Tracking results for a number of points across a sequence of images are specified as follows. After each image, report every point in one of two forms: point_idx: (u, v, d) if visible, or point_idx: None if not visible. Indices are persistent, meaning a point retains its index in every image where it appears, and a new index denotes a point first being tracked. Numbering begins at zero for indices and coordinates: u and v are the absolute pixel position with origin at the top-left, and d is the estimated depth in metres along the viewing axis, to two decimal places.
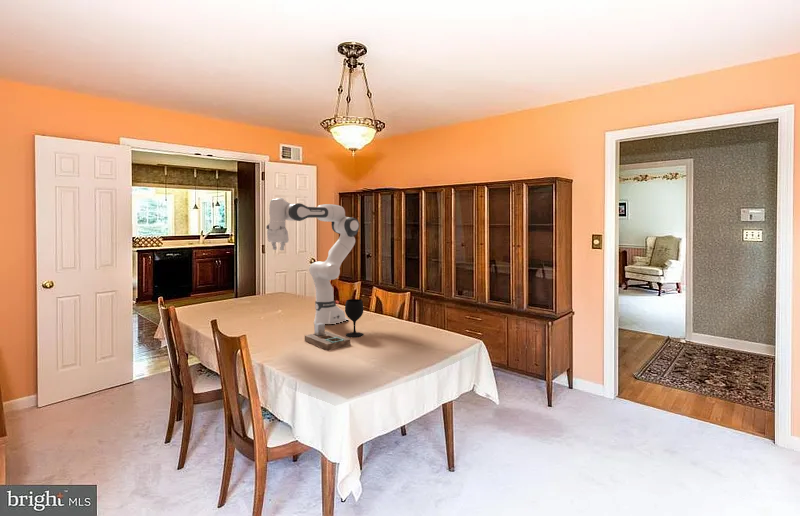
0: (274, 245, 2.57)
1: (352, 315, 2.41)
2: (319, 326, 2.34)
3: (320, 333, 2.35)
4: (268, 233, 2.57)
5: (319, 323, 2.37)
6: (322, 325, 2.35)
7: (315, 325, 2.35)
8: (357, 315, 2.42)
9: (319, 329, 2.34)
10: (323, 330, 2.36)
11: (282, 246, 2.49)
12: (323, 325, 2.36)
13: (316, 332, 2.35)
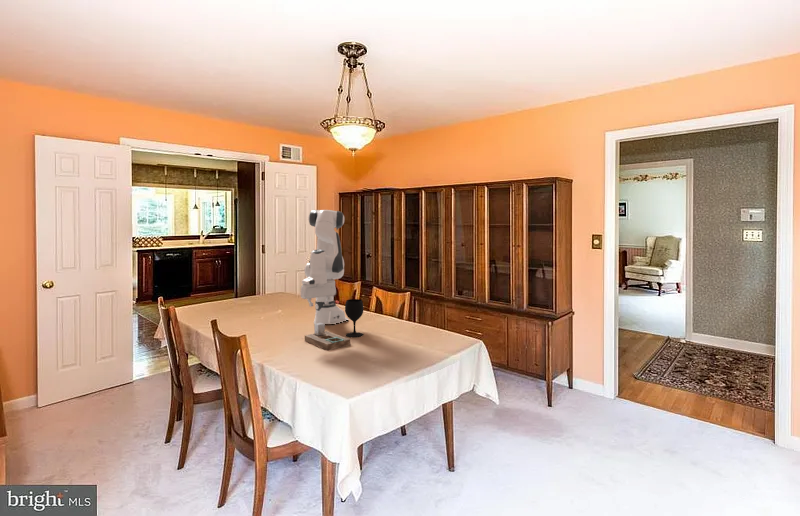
0: None
1: (352, 315, 2.41)
2: (319, 326, 2.34)
3: (320, 333, 2.35)
4: (307, 289, 2.28)
5: (319, 323, 2.37)
6: (322, 325, 2.35)
7: (315, 325, 2.36)
8: (357, 315, 2.42)
9: (319, 329, 2.34)
10: (323, 330, 2.36)
11: None
12: (323, 325, 2.36)
13: (316, 332, 2.35)
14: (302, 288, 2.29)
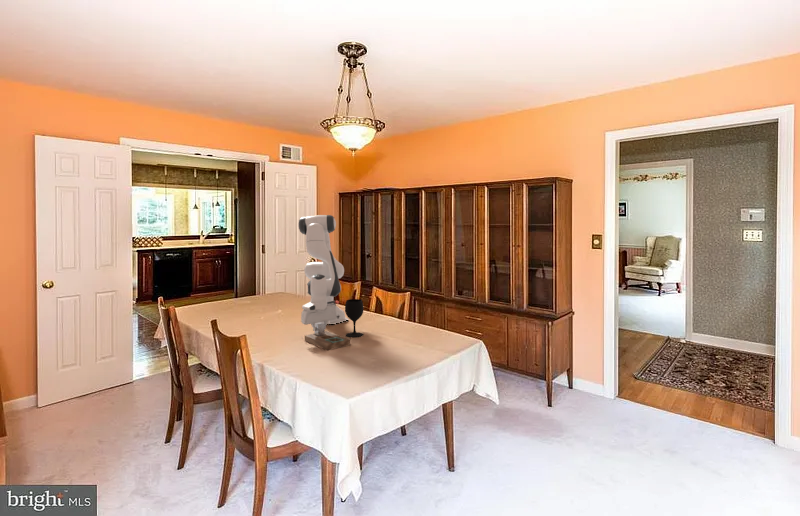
0: None
1: (352, 315, 2.41)
2: (319, 326, 2.34)
3: (320, 333, 2.35)
4: (308, 315, 2.29)
5: (319, 323, 2.37)
6: (322, 325, 2.35)
7: (315, 325, 2.35)
8: (357, 315, 2.42)
9: (319, 329, 2.34)
10: (323, 330, 2.36)
11: None
12: (323, 325, 2.36)
13: (316, 332, 2.35)
14: (302, 313, 2.30)
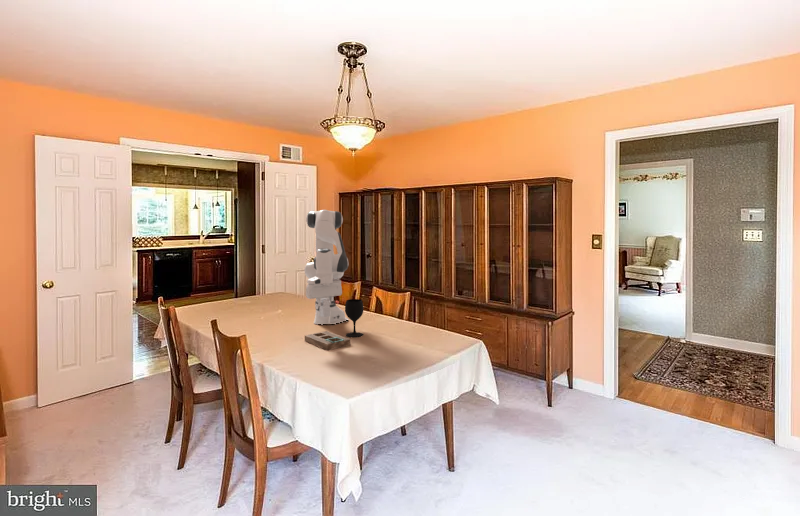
0: None
1: (352, 315, 2.41)
2: (324, 301, 2.28)
3: (325, 308, 2.28)
4: (313, 289, 2.23)
5: None
6: (327, 300, 2.29)
7: (320, 300, 2.29)
8: (357, 315, 2.42)
9: (324, 304, 2.28)
10: (328, 305, 2.29)
11: None
12: (328, 300, 2.29)
13: (321, 307, 2.29)
14: (307, 287, 2.24)
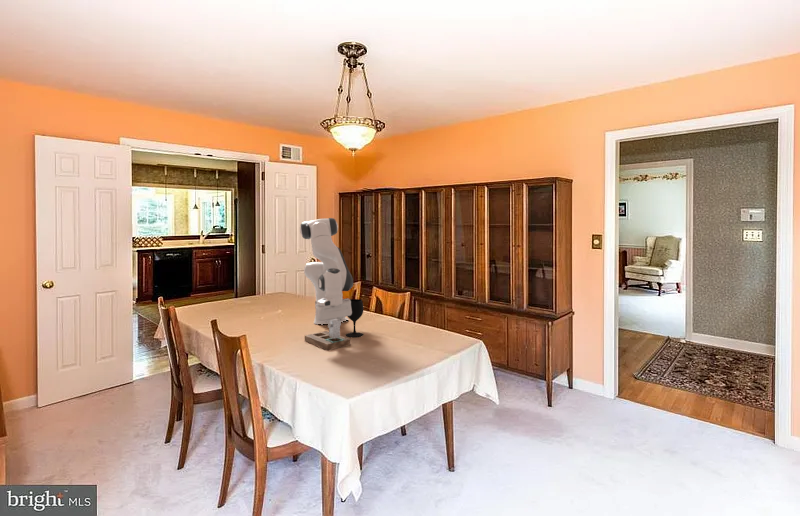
0: None
1: (352, 315, 2.41)
2: (334, 322, 2.22)
3: (335, 330, 2.23)
4: (322, 311, 2.17)
5: (334, 319, 2.25)
6: (337, 321, 2.24)
7: (330, 321, 2.24)
8: (357, 315, 2.42)
9: (334, 326, 2.22)
10: (338, 327, 2.24)
11: None
12: (338, 321, 2.24)
13: (331, 329, 2.24)
14: (317, 309, 2.18)
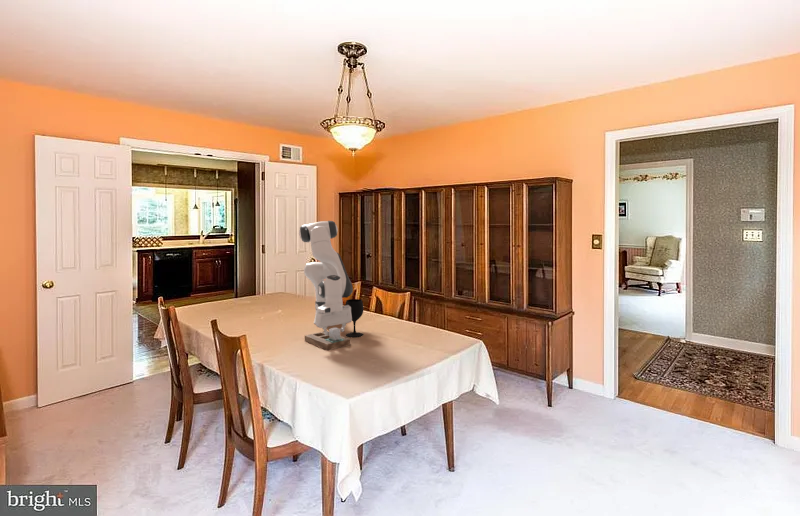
0: None
1: (352, 315, 2.41)
2: (334, 331, 2.23)
3: (335, 338, 2.23)
4: (323, 318, 2.18)
5: (334, 328, 2.26)
6: (337, 330, 2.24)
7: (330, 330, 2.24)
8: (357, 315, 2.42)
9: (334, 334, 2.23)
10: (338, 335, 2.25)
11: None
12: (338, 330, 2.24)
13: (331, 337, 2.24)
14: (317, 316, 2.18)
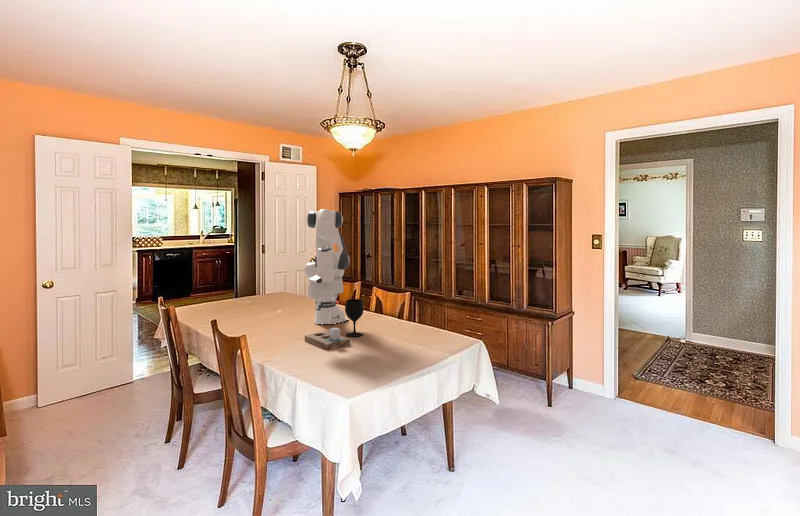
0: None
1: (352, 315, 2.41)
2: (334, 331, 2.23)
3: (335, 339, 2.23)
4: (314, 288, 2.23)
5: (334, 328, 2.26)
6: (337, 330, 2.24)
7: (330, 330, 2.24)
8: (357, 315, 2.42)
9: (334, 334, 2.23)
10: (338, 335, 2.25)
11: None
12: (338, 330, 2.24)
13: (331, 337, 2.24)
14: (309, 287, 2.23)
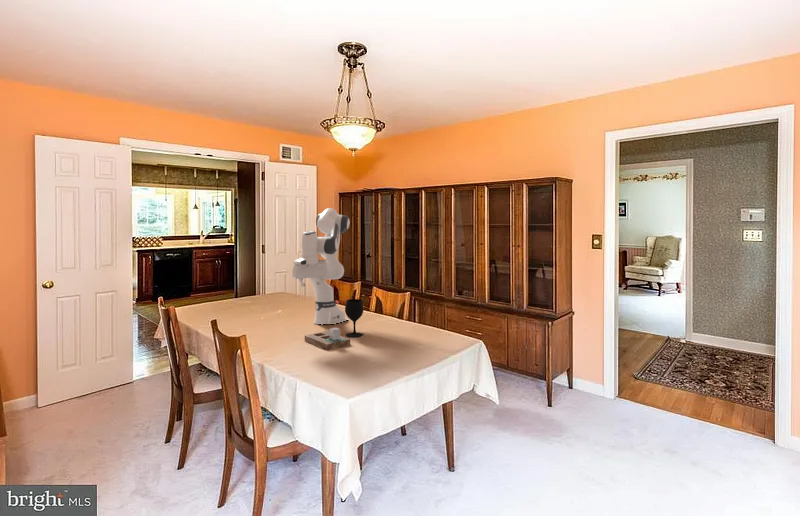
0: None
1: (352, 315, 2.41)
2: (334, 331, 2.23)
3: (335, 338, 2.23)
4: (299, 269, 2.33)
5: (334, 328, 2.26)
6: (337, 330, 2.24)
7: (330, 330, 2.24)
8: (357, 315, 2.42)
9: (334, 334, 2.23)
10: (338, 335, 2.25)
11: None
12: (338, 330, 2.24)
13: (331, 337, 2.24)
14: (294, 268, 2.34)
